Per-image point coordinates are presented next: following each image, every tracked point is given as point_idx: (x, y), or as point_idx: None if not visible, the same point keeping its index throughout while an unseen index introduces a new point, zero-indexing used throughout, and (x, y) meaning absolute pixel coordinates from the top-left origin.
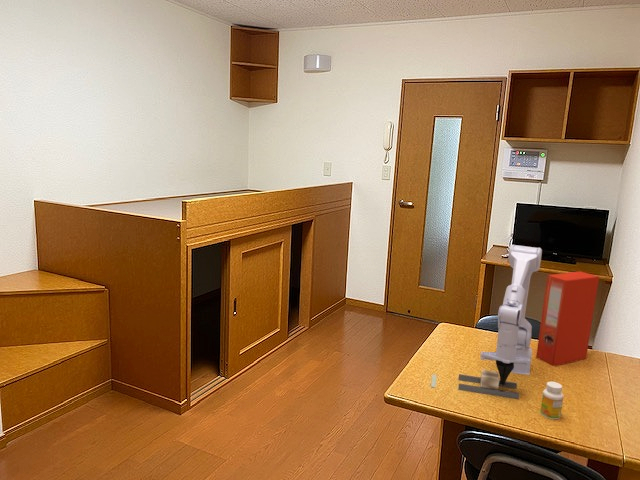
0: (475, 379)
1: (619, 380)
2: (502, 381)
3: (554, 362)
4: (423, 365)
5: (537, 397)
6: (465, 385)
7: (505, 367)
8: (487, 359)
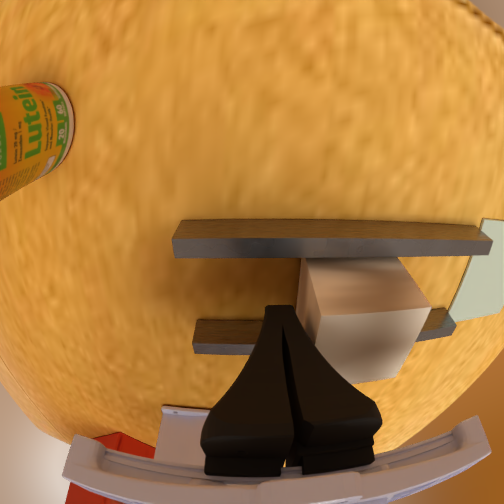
0: None
1: (12, 385)
2: (284, 318)
3: (116, 440)
4: (488, 350)
5: (103, 282)
6: (471, 244)
7: (289, 420)
8: (430, 439)
